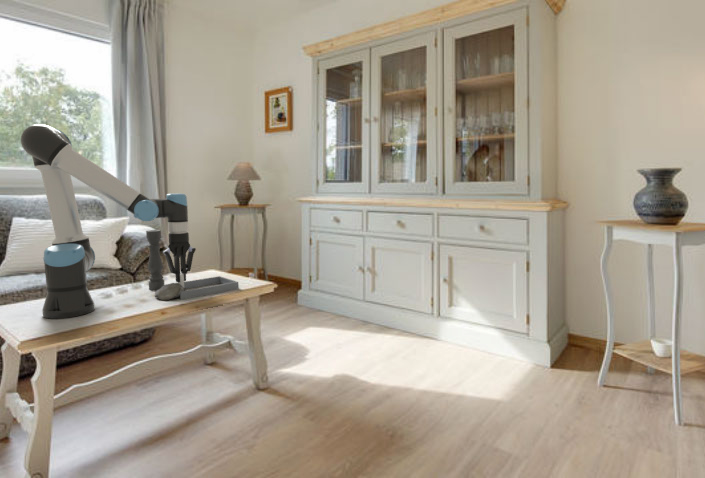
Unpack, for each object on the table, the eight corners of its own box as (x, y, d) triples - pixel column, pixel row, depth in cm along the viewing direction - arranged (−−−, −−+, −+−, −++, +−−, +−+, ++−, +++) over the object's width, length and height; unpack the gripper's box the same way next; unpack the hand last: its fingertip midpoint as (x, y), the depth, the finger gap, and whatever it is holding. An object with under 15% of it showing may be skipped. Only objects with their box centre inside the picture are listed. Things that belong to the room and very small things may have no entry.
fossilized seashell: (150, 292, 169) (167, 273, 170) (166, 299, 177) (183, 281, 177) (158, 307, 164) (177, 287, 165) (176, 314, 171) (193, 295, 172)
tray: (181, 299, 167) (180, 291, 167) (164, 291, 179) (164, 284, 179) (238, 288, 184) (238, 281, 184) (220, 282, 196) (219, 276, 196)
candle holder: (167, 286, 188) (164, 229, 185) (159, 290, 182) (156, 231, 179) (154, 286, 188) (150, 229, 185) (145, 290, 182) (142, 231, 179)
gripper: (190, 230, 180) (192, 285, 183) (158, 232, 171) (161, 290, 174) (198, 231, 175) (200, 288, 178) (165, 234, 166) (169, 294, 169)
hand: (181, 289), depth 176 cm, fingers closed
